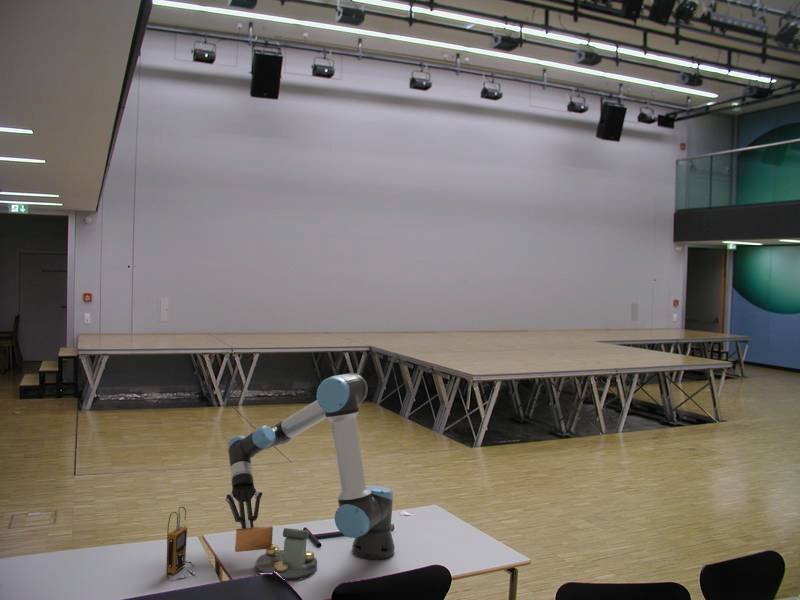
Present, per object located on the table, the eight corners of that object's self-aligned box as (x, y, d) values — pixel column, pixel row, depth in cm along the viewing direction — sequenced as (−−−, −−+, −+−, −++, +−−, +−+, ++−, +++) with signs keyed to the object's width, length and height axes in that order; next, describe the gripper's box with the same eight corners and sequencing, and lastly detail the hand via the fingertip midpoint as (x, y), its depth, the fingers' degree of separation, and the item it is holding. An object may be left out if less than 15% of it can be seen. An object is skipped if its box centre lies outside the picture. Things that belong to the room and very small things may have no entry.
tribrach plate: (322, 559, 242) (323, 547, 242) (308, 583, 222) (309, 571, 222) (266, 553, 244) (266, 541, 244) (247, 576, 224) (248, 564, 224)
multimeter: (189, 583, 217) (192, 519, 216) (159, 579, 219) (162, 515, 218) (211, 565, 231) (214, 505, 231) (183, 561, 233) (186, 501, 233)
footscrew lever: (277, 551, 240) (278, 523, 240) (280, 556, 236) (281, 528, 236) (233, 555, 234) (235, 527, 234) (236, 560, 230) (237, 532, 230)
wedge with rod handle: (308, 562, 233) (310, 527, 233) (303, 569, 227) (305, 533, 227) (284, 560, 234) (286, 525, 234) (279, 567, 228) (281, 531, 228)
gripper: (258, 481, 258) (265, 542, 243) (222, 483, 253) (227, 546, 238) (262, 471, 253) (270, 533, 238) (225, 473, 248) (231, 536, 233)
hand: (249, 539), depth 238 cm, fingers closed
